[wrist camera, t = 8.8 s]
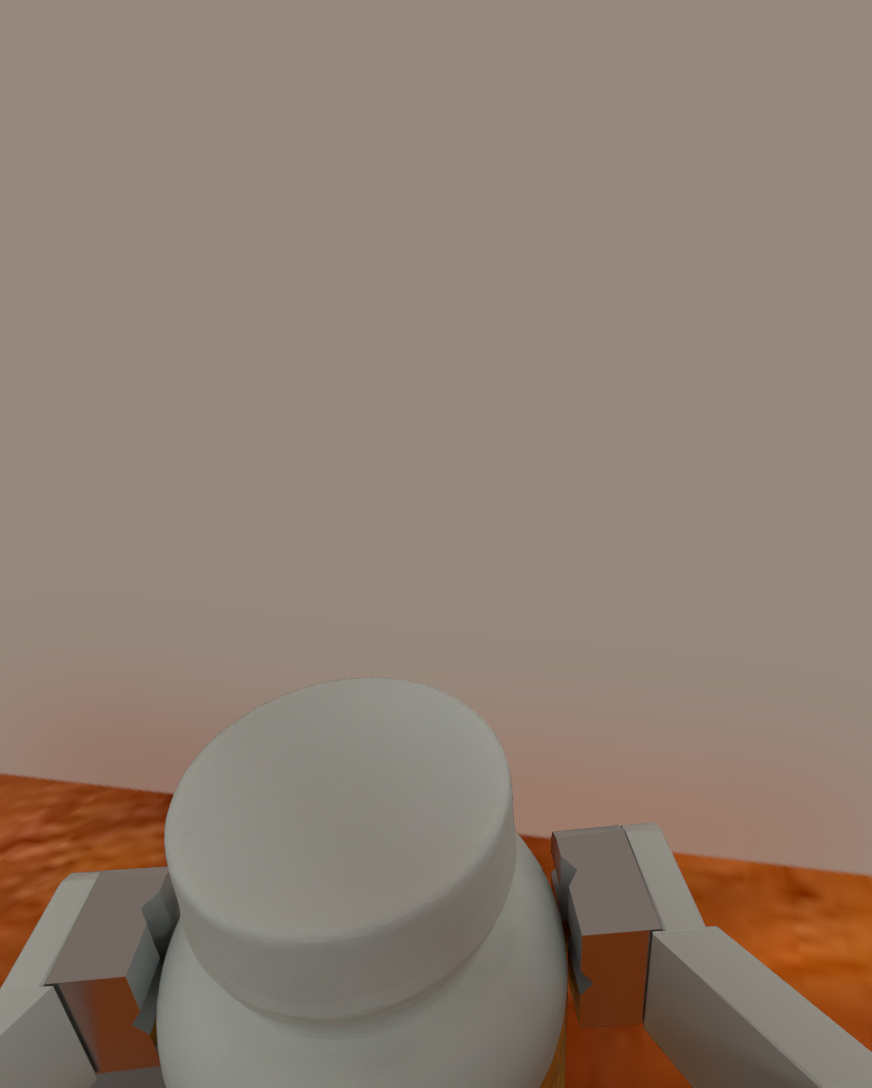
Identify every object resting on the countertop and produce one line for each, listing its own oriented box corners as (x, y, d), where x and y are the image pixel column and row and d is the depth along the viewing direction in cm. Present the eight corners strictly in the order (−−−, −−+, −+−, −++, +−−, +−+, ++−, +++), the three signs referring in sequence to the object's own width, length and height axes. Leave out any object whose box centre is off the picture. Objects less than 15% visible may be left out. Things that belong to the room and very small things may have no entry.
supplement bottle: (270, 1552, 8) (23, 1152, 4) (243, 1092, 13) (111, 705, 9) (630, 1330, 10) (680, 885, 6) (488, 989, 14) (465, 619, 11)
